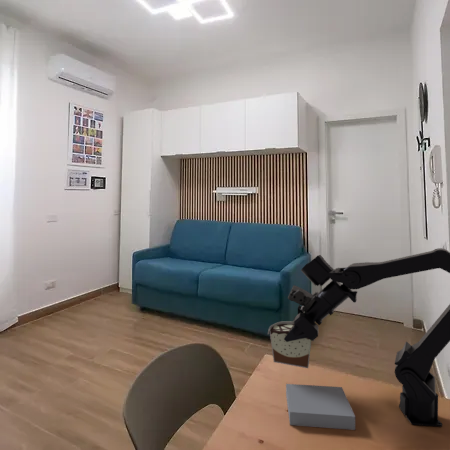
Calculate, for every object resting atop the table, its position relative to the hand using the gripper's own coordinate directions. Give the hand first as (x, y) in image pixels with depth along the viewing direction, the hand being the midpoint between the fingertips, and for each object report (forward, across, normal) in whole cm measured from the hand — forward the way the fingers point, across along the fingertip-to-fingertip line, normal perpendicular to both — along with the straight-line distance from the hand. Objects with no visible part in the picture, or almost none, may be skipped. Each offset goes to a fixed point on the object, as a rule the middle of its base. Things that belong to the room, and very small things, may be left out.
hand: (286, 335), depth 83 cm
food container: (+4, -1, +6) cm, 7 cm away
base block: (+4, +10, +15) cm, 19 cm away
